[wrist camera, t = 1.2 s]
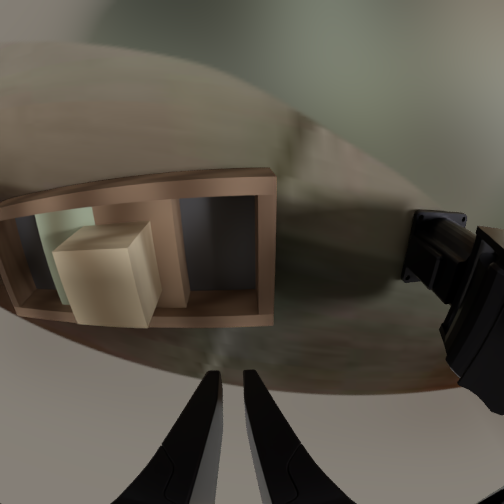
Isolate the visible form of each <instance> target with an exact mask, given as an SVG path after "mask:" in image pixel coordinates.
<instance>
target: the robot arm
mask: <svg viewBox="0 0 504 504" xmlns="http://www.w3.org/2000/svg"><path fill="white" fill-rule="evenodd" d="M420 215H421V217H420V218H419V216H420ZM466 221H467V216H466V214H464V213H459V212H444V211H426V210H418V211H416V213H415V214H414V219H413V225H412V230H411V235H410V240H409V245H408V249H407V254H406V258H405V263H404V267H403V271H402V275H401V279H402V280H403V281H404V282H405V283H409V282H418V281H421V282H422V283H423V284H424V285H425V286H426V287H427V288H428V289H429V290H432V291H433V292H434V293H435V294H436V295H437V296H438V297H439V298H440V300H441V301H442V302H443V303H444V304H449V305H450V306H451V307H450V309H449V312H448V314H447V316H446V318H445V320H444V322H443V323H442V324H441V326H440V328H439V331H440V334H441V336H442V339H443V342H444V345H445V349H446V353H447V356H446V361H447V363H448V365H449V366H450V368H451V369H452V371H453V372H454V373H455V374H456V375H457V376H458V377H459V378H460V379H459V381H458V382H457V383H458V385H459V386H462V387H464V388H466V389H469V390H470V391H472V392H473V393H474V394H476V395H477V396H478V397H479V398H480V399H481V400H482V401H483V402H484V403H485V405H486V406H487V407H488V408H489V409H490V411H491V412H494V413H497V414H499V415H504V229H498V228H491V227H484V226H477V230H476V235H475V234H474V233H472V232H471V231H469V230H468V229H466V228H465V226H466ZM406 276H407V277H406ZM243 384H244V404H245V417H246V428H247V434H248V439H249V444H250V449H251V454H252V458H253V463H254V468H255V472H256V477H257V481H258V486H259V490H260V494H261V499H262V503H263V504H356V503H355V502H354V501H352V500H351V499H350V498H349V497H348V496H346V494H345V493H344V492H343V491H342V490H340V488H338V487H337V485H336V484H335V483H333V481H332V480H331V479H330V478H329V477H328V476H326V474H325V473H324V472H323V471H322V470H321V469H320V467H319V466H318V465H317V464H316V463H315V462H314V460H313V459H312V457H311V456H310V455H309V453H308V452H307V451H306V449H305V448H304V446H303V445H302V444H301V442H300V440H299V439H298V437H297V436H296V434H295V433H294V431H293V430H292V428H291V427H290V425H289V423H288V422H287V420H286V419H285V417H284V416H283V414H282V413H281V411H280V409H279V408H278V406H277V404H276V403H275V401H274V400H273V398H272V396H271V395H270V393H269V391H268V390H267V388H266V387H265V385H264V383H263V382H262V380H261V378H260V377H259V375H258V373H257V372H256V370H244V371H243ZM222 434H223V388H222V380H221V374H220V371H208V372H207V373H206V374H205V376H204V378H203V379H202V381H201V382H200V384H199V386H198V387H197V389H196V391H195V392H194V394H193V395H192V397H191V399H190V400H189V402H188V403H187V405H186V407H185V408H184V410H183V411H182V413H181V414H180V416H179V418H178V419H177V421H176V422H175V424H174V425H173V427H172V429H171V430H170V432H169V433H168V435H167V436H166V438H165V439H164V441H163V443H162V446H160V447H159V449H158V450H157V452H156V453H155V455H154V456H153V457H152V459H151V460H150V462H149V463H148V465H147V466H146V467H145V468H144V469H143V470H142V472H141V473H140V474H139V475H138V476H137V477H136V478H135V480H134V481H133V482H132V483H131V484H130V485H129V486H128V487H127V488H126V489H125V490H124V491H123V493H122V494H121V495H120V496H119V497H118V498H117V499H116V500H114V501H113V502H112V503H111V504H215V495H216V486H217V478H218V468H219V460H220V451H221V442H222ZM0 504H1V503H0ZM476 504H504V486H503V487H501V488H500V489H498V490H497V491H495V492H493V493H492V494H490V495H488V496H487V497H485V498H484V499H482V500H481V501H479V502H478V503H476Z"/></svg>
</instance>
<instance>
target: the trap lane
mask: <svg viewBox="0 0 504 504" xmlns="http://www.w3.org/2000/svg"><path fill="white" fill-rule="evenodd" d="M276 198H277V176H276V175H275V174H274V173H273V172H272V170H271V169H270V168H232V169H210V170H194V171H180V172H168V173H158V174H148V175H139V176H131V177H123V178H115V179H108V180H101V181H95V182H88V183H82V184H77V185H71V186H66V187H60V188H55V189H50V190H45V191H41V192H36V193H32V194H27V195H23V196H19V197H15V198H11V199H7V200H5V201H3V202H1V203H0V274H1V277H2V280H3V282H4V285H5V287H6V290H7V292H8V295H9V297H10V299H11V302H12V304H13V306H14V308H15V311H16V313H17V315H18V316H23V317H30V318H38V319H46V320H54V321H63V322H74V323H77V321H76V318H75V316H74V314H73V311H72V309H71V306H70V304H69V301H68V298H67V296H66V293H65V290H64V287H63V285H62V282H61V279H60V276H59V273H58V270H57V267H56V264H55V260H54V257H53V254H52V251H54V250H55V249H56V248H57V247H58V246H59V245H61V244H62V243H63V242H64V241H65V240H67V239H68V238H69V237H70V236H72V235H73V234H74V233H75V232H77V231H78V230H79V229H80V228H82V227H83V226H90V225H101V224H113V223H126V222H140V221H150V224H151V231H152V237H153V243H154V249H155V255H156V261H157V266H158V272H159V277H160V282H161V287H162V292H161V295H160V297H159V300H158V303H157V305H156V308H155V310H154V313H153V316H152V318H151V321H150V324H149V326H148V327H160V328H223V327H253V326H272V325H273V317H274V289H275V254H276Z"/></svg>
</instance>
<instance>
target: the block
mask: <svg viewBox="0 0 504 504" xmlns="http://www.w3.org/2000/svg"><path fill="white" fill-rule="evenodd" d="M52 254H53V257H54V260H55V264H56V267H57V270H58V273H59V276H60V279H61V282H62V285H63V287H64V290H65V293H66V296H67V298H68V301H69V304H70V306H71V309H72V311H73V314H74V316H75V318H76V321H77V323H78V324H84V325H97V326H111V327H129V328H148V326H149V324H150V321H151V318H152V316H153V313H154V310H155V308H156V305H157V303H158V300H159V297H160V295H161V292H162V287H161V282H160V277H159V272H158V266H157V261H156V255H155V249H154V243H153V237H152V231H151V224H150V221H140V222H126V223H113V224H101V225H90V226H83V227H82V228H80V229H79V230H78V231H77V232H75V233H74V234H73V235H72V236H70V237H69V238H68V239H67V240H65V241H64V242H63V243H62V244H61V245H59V246H58V247H57V248H56V249H55V250H54V251H52Z"/></svg>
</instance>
